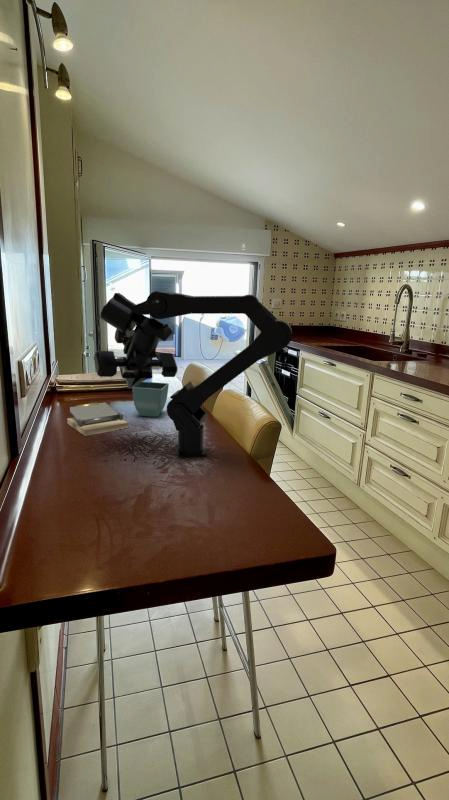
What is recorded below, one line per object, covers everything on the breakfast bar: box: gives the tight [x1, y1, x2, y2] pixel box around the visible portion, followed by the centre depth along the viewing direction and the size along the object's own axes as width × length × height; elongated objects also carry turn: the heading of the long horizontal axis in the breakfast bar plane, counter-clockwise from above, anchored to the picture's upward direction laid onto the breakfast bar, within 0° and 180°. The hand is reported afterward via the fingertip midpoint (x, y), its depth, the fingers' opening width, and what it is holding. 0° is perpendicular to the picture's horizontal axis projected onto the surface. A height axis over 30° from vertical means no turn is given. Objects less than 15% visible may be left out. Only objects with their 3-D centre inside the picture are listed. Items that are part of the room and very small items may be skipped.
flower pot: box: [131, 381, 170, 418], centre depth 125 cm, size 9×9×9 cm
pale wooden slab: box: [66, 412, 130, 437], centre depth 114 cm, size 12×12×3 cm
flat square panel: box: [69, 402, 119, 425], centre depth 115 cm, size 2×10×10 cm
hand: (128, 386), depth 106 cm, fingers closed
